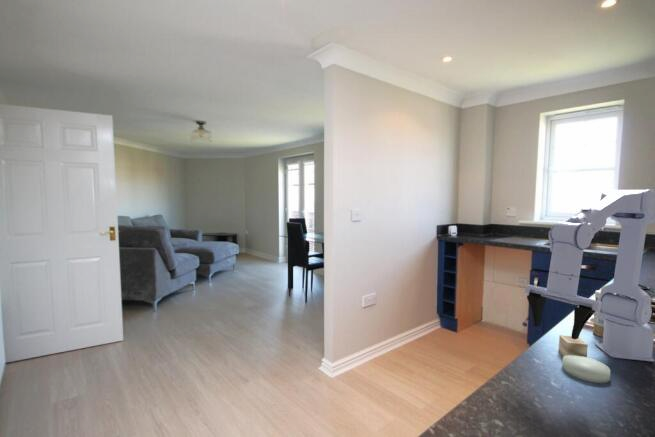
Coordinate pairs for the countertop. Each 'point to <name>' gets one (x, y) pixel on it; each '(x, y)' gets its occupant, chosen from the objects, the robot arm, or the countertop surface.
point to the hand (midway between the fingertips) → (555, 331)
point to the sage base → (586, 368)
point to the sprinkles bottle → (598, 319)
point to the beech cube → (572, 346)
